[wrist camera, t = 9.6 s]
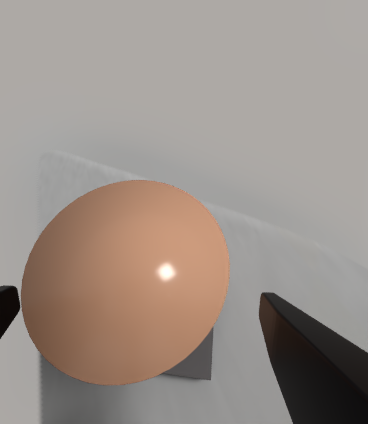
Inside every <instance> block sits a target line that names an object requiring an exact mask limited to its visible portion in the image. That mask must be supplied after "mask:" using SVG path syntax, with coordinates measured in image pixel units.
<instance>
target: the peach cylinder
mask: <svg viewBox="0 0 368 424" xmlns="http://www.w3.org/2000/svg"><path fill="white" fill-rule="evenodd" d="M229 271H230V263H229V255H228V249H227V245H226V241H225V238H224V236H223V233H222V231H221V229H220V227H219V225H218V223H217V222H216V220H215V218H214V217H213V216H212V214H211V213H210V212H209V210H208V209H207V208H206V207H205V206H204V205H203V204H202V203H201V202H199V201H198V200H197V199H196V198H194V197H193V196H191V195H190V194H188V193H186V192H185V191H183V190H181V189H179V188H176V187H174V186H171V185H168V184H165V183H160V182H155V181H146V180H131V181H123V182H117V183H113V184H109V185H106V186H103V187H100V188H97V189H95V190H93V191H90V192H88V193H87V194H85V195H83V196H81V197H79V198H78V199H76V200H75V201H73V202H72V203H70V204H69V205H68V206H67V207H65V208H64V209H63V210H62V211H61V212H59V213H58V214H57V215H56V216H55V218H54V219H53V220H52V221H51V222H50V223H49V224H48V225H47V227H46V228H45V229H44V230H43V232H42V233H41V235H40V236H39V238H38V240H37V241H36V243H35V245H34V247H33V249H32V251H31V253H30V255H29V258H28V261H27V264H26V266H25V271H24V275H23V279H22V289H21V303H22V312H23V317H24V322H25V325H26V328H27V330H28V333H29V335H30V337H31V339H32V341H33V343H34V344H35V346H36V348H37V349H38V350H39V352H40V353H41V354H42V355H43V356H44V357H45V359H46V360H47V361H48V362H50V363H51V364H52V365H53V366H55V367H56V368H57V369H58V370H60V371H62V372H63V373H65V374H67V375H69V376H71V377H73V378H75V379H78V380H81V381H84V382H87V383H93V384H99V385H125V384H130V383H136V382H140V381H143V380H146V379H149V378H152V377H155V376H157V375H159V374H161V373H163V372H165V371H167V370H169V369H171V368H172V367H174V366H175V365H177V364H178V363H179V362H181V361H182V360H184V359H185V358H186V357H187V356H188V355H189V354H190V353H192V352H193V351H194V350H195V349H196V348H197V347H198V346H199V345H200V343H201V342H202V341H203V340H204V338H205V337H206V336H207V335H208V333H209V332H210V330H211V329H212V327H213V325H214V324H215V322H216V321H217V318H218V316H219V314H220V312H221V309H222V307H223V304H224V301H225V298H226V294H227V290H228V284H229Z"/></svg>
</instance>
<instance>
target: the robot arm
mask: <svg viewBox="0 0 368 424" xmlns="http://www.w3.org/2000/svg"><path fill="white" fill-rule="evenodd" d="M19 310H20V301H19V296H18V290H17V288H16V287H15V286H0V339H1V337H2V336H3V334H4V333H5V331H6V330H7V328H8V327H9V325H10V324H11V322H12V321H13V320H14V318H15V317H16V315H17V314H18V312H19ZM259 319H260V323H261V327H262V331H263V335H264V339H265V343H266V347H267V351H268V355H269V358H270V362H271V365H272V368H273V371H274V373H275V376H276V379H277V381H278V384H279V387H280V389H281V392H282V395H283V398H284V400H285V403H286V406H287V408H288V411H289V414H290V416H291V419H292V422H293V424H368V353H367V352H366V351H364V350H362V349H361V348H359V347H358V346H356V345H355V344H353V343H351V342H350V341H348V340H347V339H345V338H344V337H342V336H340V335H339V334H337V333H336V332H334V331H333V330H331V329H330V328H328V327H326V326H325V325H323V324H322V323H320V322H319V321H317V320H315V319H314V318H312V317H311V316H309V315H308V314H306V313H304V312H303V311H301V310H300V309H298V308H297V307H295V306H293V305H292V304H290V303H289V302H287V301H286V300H284V299H282V298H281V297H279V296H278V295H276V294H275V293H267V292H264V293H262V294H261V297H260V307H259Z"/></svg>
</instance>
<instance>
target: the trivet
mask: <svg viewBox="0 0 368 424" xmlns="http://www.w3.org/2000/svg"><path fill="white" fill-rule="evenodd" d="M212 344H213V327H212V329H211V330H210V332H209V333H208V335H207V336H206V337H205V338H204V340H203V341H202V342H201V343H200V345H199V346H198V347H197V348H196V349H195V350H194V351H193V352H192V353H190V354H189V355H188V356H187V357H186V358H185V359H184V360H182V361H181V362H179V363H178V364H177V365H175V366H174V367H172V368H171V369H169V370H167V371H165V372H163V373H164V374H171V375H178V376H185V377H192V378H199V379H206V380H211V365H212Z"/></svg>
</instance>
